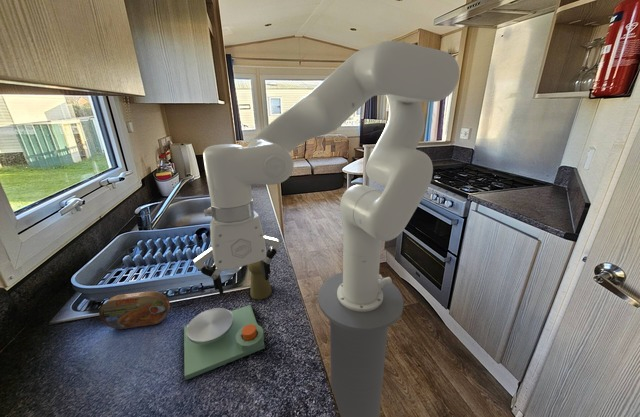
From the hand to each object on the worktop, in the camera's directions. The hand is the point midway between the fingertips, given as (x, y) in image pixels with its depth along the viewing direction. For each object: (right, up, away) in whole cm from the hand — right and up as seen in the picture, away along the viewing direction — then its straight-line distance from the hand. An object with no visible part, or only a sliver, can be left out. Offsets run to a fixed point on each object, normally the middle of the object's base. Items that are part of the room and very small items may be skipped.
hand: (243, 283), depth 57 cm
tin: (-29, -13, +9) cm, 33 cm away
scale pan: (-9, -11, +4) cm, 15 cm away
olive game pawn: (-1, -8, +19) cm, 21 cm away
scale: (-6, -14, +4) cm, 16 cm away
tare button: (+1, -12, +2) cm, 12 cm away
